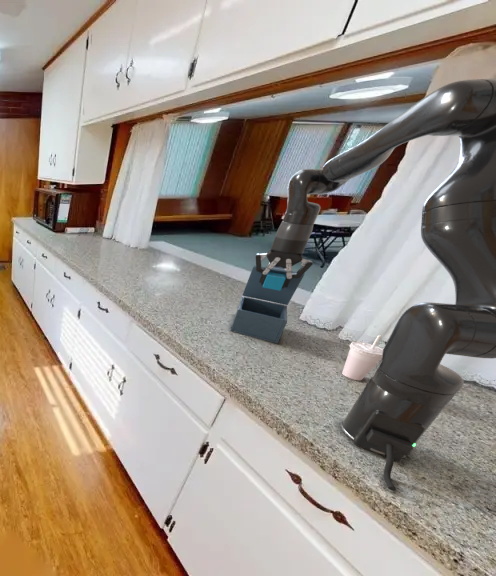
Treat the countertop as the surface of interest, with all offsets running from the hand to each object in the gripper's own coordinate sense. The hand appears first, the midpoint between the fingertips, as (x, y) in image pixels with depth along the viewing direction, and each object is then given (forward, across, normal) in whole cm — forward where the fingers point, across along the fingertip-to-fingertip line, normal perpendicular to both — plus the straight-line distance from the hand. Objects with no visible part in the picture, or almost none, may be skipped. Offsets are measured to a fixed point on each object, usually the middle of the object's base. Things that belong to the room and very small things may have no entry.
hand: (272, 285), depth 99 cm
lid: (+2, 0, +5) cm, 5 cm away
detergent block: (0, 0, -1) cm, 1 cm away
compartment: (+18, 0, +2) cm, 18 cm away
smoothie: (+18, +22, -14) cm, 31 cm away
